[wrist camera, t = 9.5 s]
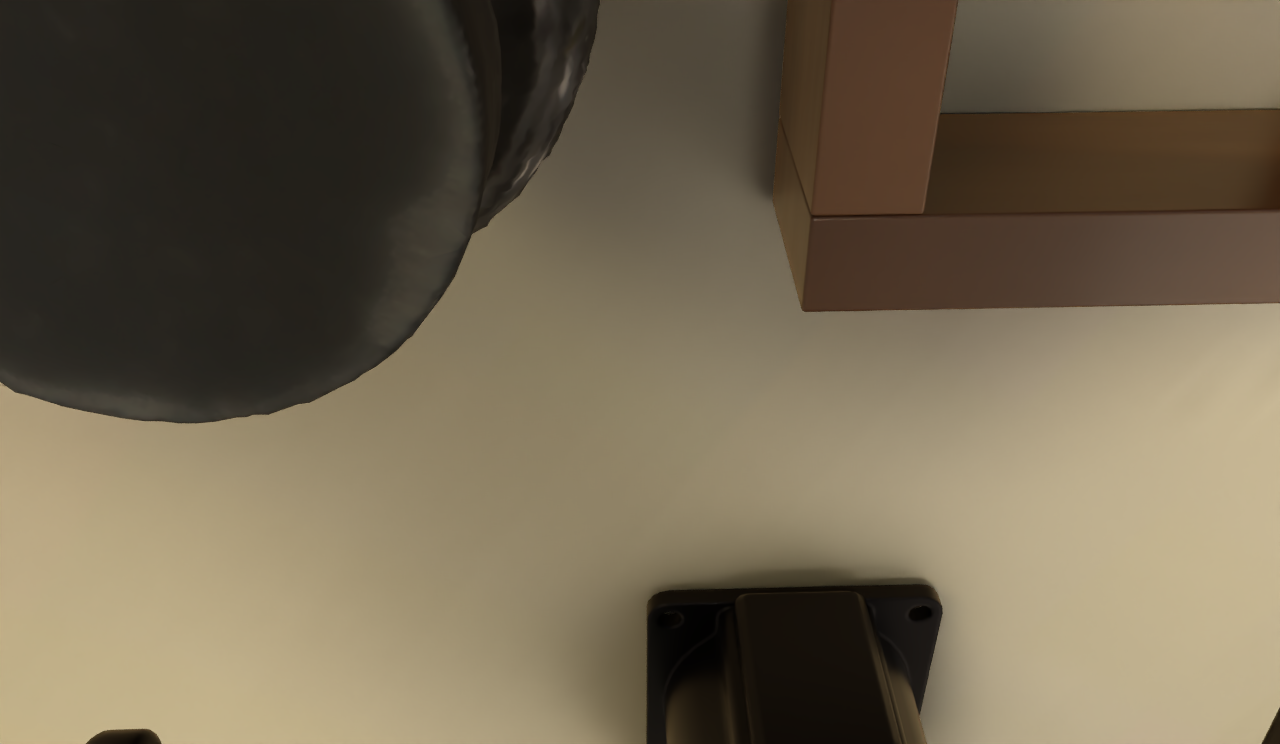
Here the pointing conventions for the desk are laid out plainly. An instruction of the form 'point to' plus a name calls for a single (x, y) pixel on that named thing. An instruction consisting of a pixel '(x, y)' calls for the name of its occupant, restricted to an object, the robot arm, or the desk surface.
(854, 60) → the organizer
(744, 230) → the desk surface
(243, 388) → the pill bottle
